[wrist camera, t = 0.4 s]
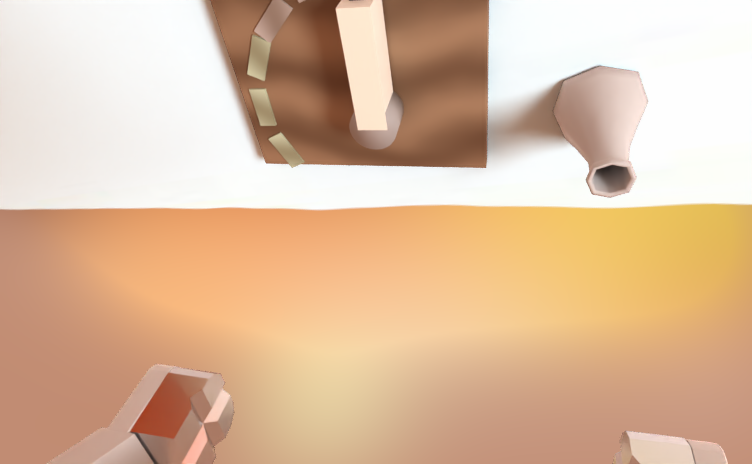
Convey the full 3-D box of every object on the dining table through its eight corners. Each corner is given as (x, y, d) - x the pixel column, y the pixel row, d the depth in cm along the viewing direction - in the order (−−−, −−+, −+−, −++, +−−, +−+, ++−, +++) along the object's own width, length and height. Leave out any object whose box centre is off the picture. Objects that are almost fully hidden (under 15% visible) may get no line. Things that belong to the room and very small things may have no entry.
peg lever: (406, 126, 47) (398, 150, 44) (362, 126, 48) (353, 149, 45) (387, -37, 37) (377, -19, 35) (334, -33, 38) (320, -15, 36)
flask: (553, 145, 47) (557, 220, 40) (551, 70, 42) (554, 141, 35) (643, 137, 45) (664, 216, 38) (651, 57, 40) (676, 131, 33)
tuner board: (206, -42, 42) (197, -35, 41) (489, -67, 36) (488, -59, 35) (271, 157, 55) (266, 167, 54) (487, 160, 49) (485, 172, 48)
